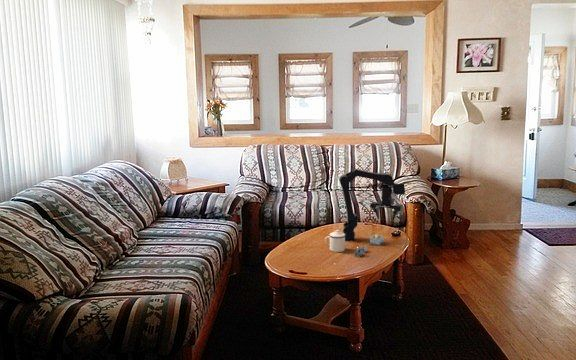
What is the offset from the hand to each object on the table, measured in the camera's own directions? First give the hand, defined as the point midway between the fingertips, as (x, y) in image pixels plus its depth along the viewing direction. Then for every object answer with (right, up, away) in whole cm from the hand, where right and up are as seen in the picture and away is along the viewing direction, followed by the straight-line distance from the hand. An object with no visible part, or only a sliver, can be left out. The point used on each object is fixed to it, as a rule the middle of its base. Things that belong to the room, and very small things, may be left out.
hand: (386, 220), depth 292 cm
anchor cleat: (-20, -17, -26) cm, 37 cm away
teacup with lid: (-32, -16, -15) cm, 39 cm away
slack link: (-17, -16, -19) cm, 30 cm away
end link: (-7, -13, -6) cm, 15 cm away
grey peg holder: (-7, -13, -5) cm, 16 cm away
